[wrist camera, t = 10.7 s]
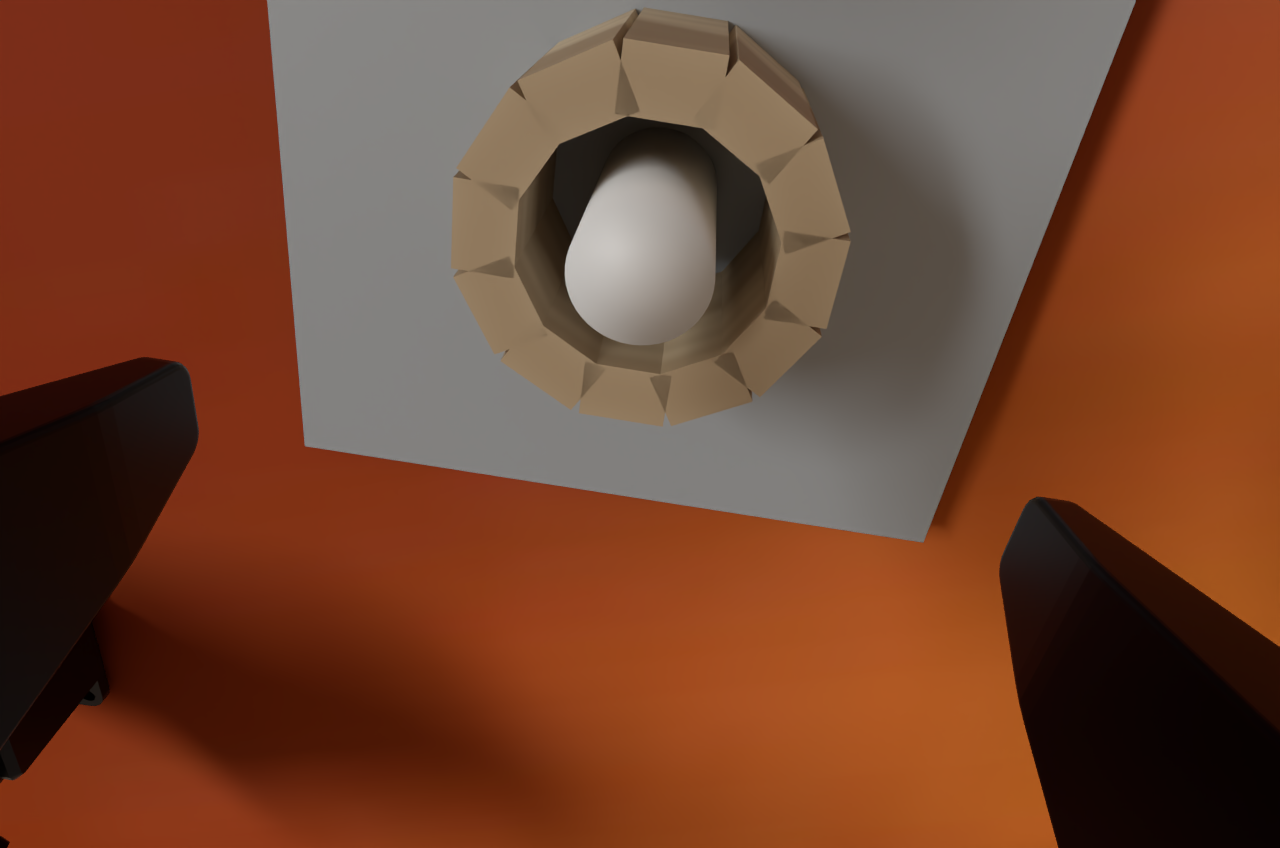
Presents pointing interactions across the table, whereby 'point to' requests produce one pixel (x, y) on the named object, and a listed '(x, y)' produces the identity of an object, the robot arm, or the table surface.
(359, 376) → the post board
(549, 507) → the table surface
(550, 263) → the wooden ring
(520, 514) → the table surface
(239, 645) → the table surface
